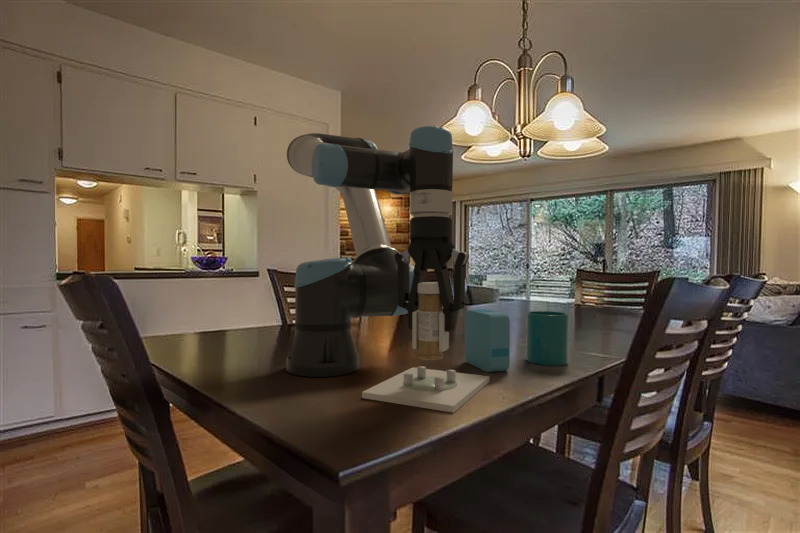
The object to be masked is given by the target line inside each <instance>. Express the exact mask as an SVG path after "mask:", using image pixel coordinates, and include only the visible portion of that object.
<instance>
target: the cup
mask: <svg viewBox="0 0 800 533" xmlns="http://www.w3.org/2000/svg"><path fill="white" fill-rule="evenodd" d="M525 324H526V326H525V327H526V328H525V337H526V338H525V342H526V345H525V346H526V347H525V350H526V351H525V352H526V354H525V355H526V356H525V358H526V360H527V362H529V363H531V364H532V365H533V364H534V365H539V366H545V367H559V366H564V365H566V364H567V363H568V362H569V313H567V312H562V311H553V310H552V311H551V310H550V311H549V310H532V311H527V312H526V323H525Z"/></svg>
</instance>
